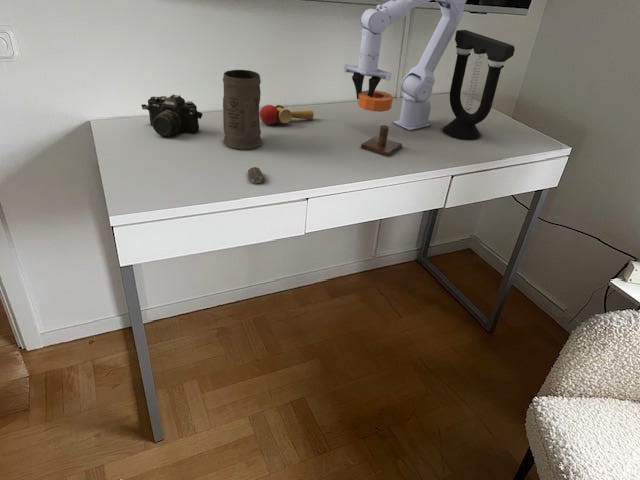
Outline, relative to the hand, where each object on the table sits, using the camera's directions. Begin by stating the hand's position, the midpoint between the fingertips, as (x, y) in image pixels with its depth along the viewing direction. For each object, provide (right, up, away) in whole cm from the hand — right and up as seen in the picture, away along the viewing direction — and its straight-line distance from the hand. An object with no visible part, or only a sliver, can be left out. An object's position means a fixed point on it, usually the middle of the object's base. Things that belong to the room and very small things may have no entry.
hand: (363, 99), depth 154 cm
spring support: (+33, -9, +8) cm, 36 cm away
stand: (+5, -16, -6) cm, 18 cm away
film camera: (-57, -12, -8) cm, 59 cm away
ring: (+3, -2, 0) cm, 4 cm away
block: (-30, -28, -29) cm, 50 cm away
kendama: (-24, -6, +6) cm, 26 cm away
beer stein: (-35, -15, -9) cm, 39 cm away
